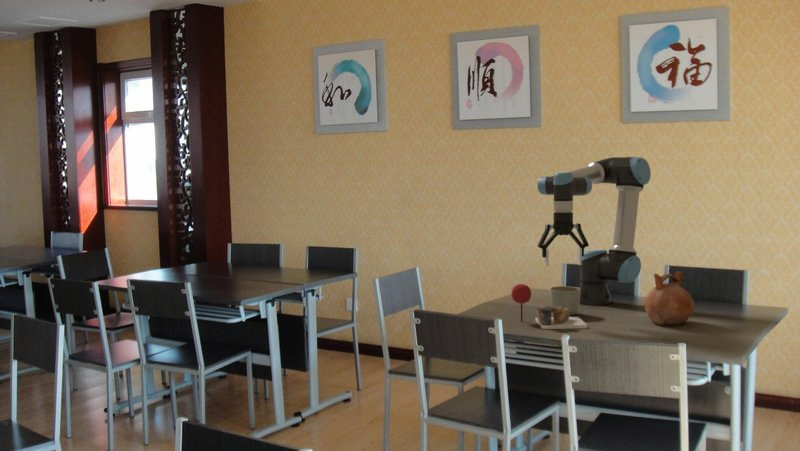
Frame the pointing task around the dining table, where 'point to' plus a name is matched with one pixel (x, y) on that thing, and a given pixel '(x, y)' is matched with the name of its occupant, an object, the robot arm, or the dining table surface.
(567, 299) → the planter
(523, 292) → the lollipop
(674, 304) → the jug
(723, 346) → the dining table surface
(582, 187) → the robot arm
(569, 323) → the board
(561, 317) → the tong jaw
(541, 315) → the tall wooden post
